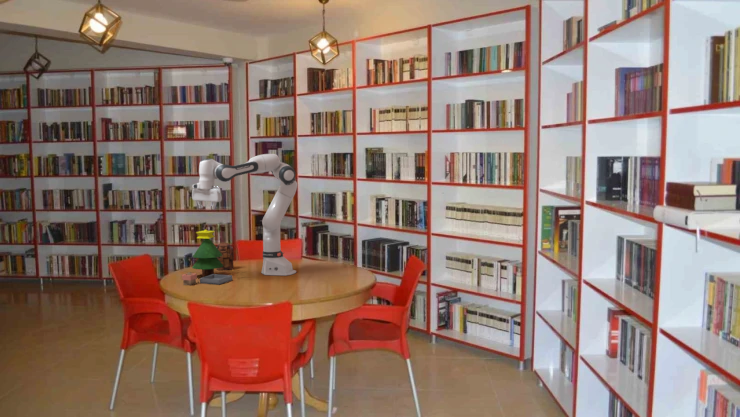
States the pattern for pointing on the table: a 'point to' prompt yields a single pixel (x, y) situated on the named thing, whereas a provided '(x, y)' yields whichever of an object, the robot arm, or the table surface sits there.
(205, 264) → the decorative tree
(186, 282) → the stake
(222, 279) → the tray
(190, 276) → the ring
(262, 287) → the table surface
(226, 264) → the wooden figurine
